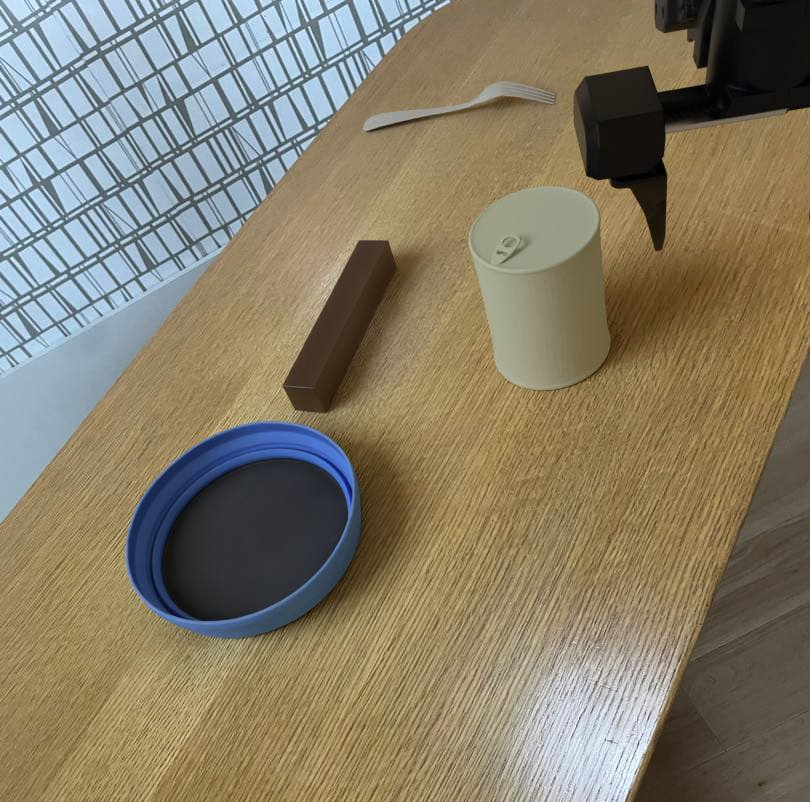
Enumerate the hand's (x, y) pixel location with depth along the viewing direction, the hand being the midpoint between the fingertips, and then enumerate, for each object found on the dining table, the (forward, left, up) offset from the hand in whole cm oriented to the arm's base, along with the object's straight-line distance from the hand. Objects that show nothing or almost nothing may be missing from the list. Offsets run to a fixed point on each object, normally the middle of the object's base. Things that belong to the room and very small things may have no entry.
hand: (734, 234), depth 51 cm
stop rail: (+8, -31, -13) cm, 34 cm away
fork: (-24, -41, -13) cm, 49 cm away
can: (+2, -13, -13) cm, 19 cm away
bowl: (+28, -23, -13) cm, 39 cm away
